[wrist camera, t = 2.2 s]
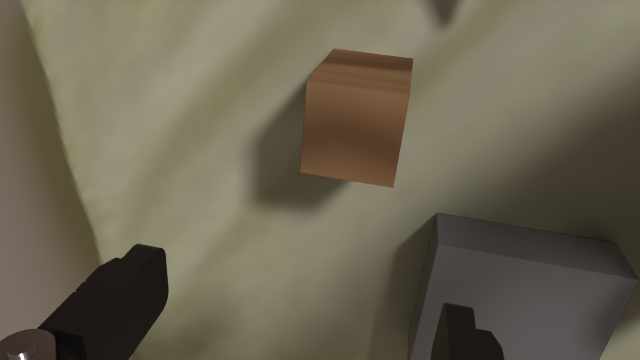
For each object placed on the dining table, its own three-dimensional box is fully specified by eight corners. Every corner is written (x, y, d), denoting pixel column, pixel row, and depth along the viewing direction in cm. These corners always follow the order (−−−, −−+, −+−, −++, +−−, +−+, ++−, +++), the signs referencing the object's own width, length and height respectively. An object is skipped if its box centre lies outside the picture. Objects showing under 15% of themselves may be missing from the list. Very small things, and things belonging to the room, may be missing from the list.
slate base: (436, 212, 34) (438, 244, 30) (615, 243, 32) (639, 279, 29) (408, 336, 40) (406, 375, 36) (559, 367, 38) (573, 411, 34)
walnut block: (334, 48, 30) (306, 81, 23) (413, 58, 30) (409, 95, 23) (327, 122, 33) (300, 172, 26) (400, 133, 32) (393, 187, 25)
